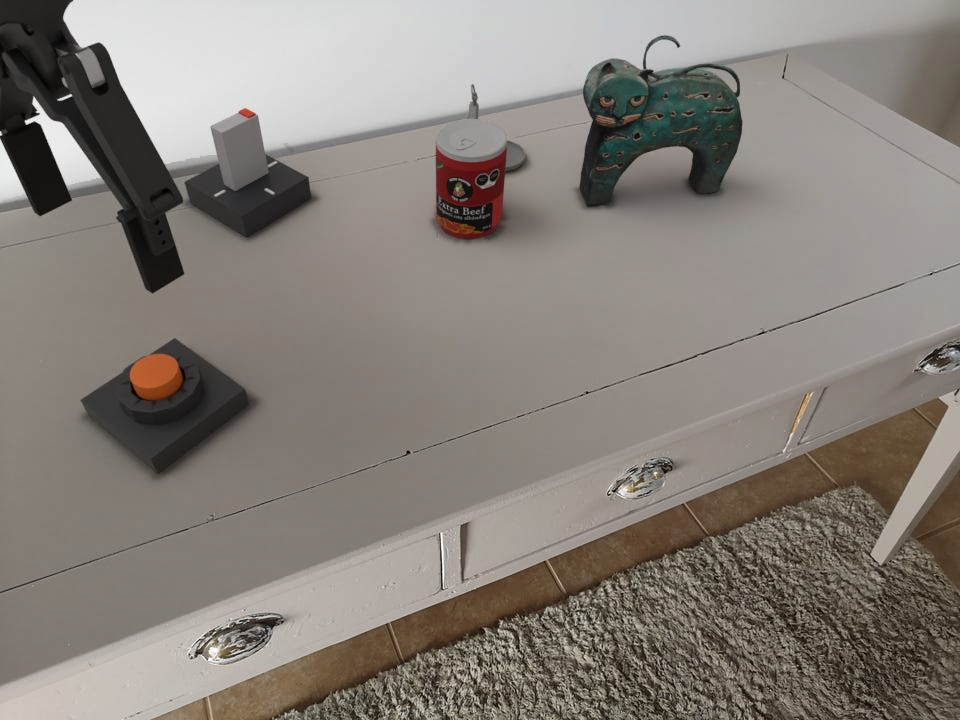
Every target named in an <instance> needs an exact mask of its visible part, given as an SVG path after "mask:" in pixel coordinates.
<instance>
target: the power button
mask: <svg viewBox="0 0 960 720" xmlns="http://www.w3.org/2000/svg"><path fill="white" fill-rule="evenodd" d="M148 355H149V356H148ZM148 355H145V356H146V357H144V356H143V357H144V358H142V357H141V358H142V359H140V358H139V359H140V360H139V359H138V360H139V361H137V360H136V361H137V362H136V363H135V364H134V365H133V367H132V369H131V371H130V380H131V382H132V384H133V387H134V389H135V391H136V393H137V395H138V396H140V397H141V398H143V399H145V400H149V401H158V400H161V399H165V398H168V397H170V396H172V395H173V394H175V393H176V392H177V391H178V390H179V389H180V387H181V385H182V382H183V376H182V374H181V371H180V368H179V365H178V363H177V361H176V360H175V359H174V358H173V357H171V356H169V355H166V354H153V355H150V354H148Z"/></svg>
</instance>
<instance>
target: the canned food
mask: <svg viewBox="0 0 960 720" xmlns="http://www.w3.org/2000/svg"><path fill="white" fill-rule="evenodd" d="M507 140H508V137H507V133H506V131H505V130H504V129H503V128H502V126H500V125H498V124H496V123H494V122H493V121H489V120H486V119H481V118H478V119H468V118H463V119H457V120H453V121H451V122H448V123H446V124H445V125H443V126H442V127H441V128H439V130H438V131H437V133H436V138H435V216H436V220H437V222H438V225H439V226H440V228H441V229H442V231H444V232H445V233H447V234H448V235H450V236H453V237H456V238H459V239H478V238H482V237H485V236H487V235H489V234H491V233H492V232H494V231H495V230H496V229H497V228H498V226H499V224H500V222H501V220H502V216H503V207H504V206H503V204H504V192H505V180H506V171H505V169H506V156H507Z"/></svg>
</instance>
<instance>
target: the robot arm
mask: <svg viewBox="0 0 960 720" xmlns="http://www.w3.org/2000/svg"><path fill="white" fill-rule="evenodd" d="M73 2H74V0H0V134H1V135H0V142H1V144H2V146H3V148H4V150H5V153H6V155H7V156H8V159H9V161H10V163H11V165H12V167H13V169H14V172H15V174H16V176H17V179H18V180H19V182H20V184H21V187H22V189H23V191H24V193H25V195H26V197H27V199H28V202H29V204H30V206H31V208H32V211H33V213H34V214H36V215H37V216H39V217H42V216H44V215H46V214H48V213H50V212H52V211H54V210H56V209H59V208H60V207H62V206H64V205H66V204H68V203H71V202H72V201H73V199H72V195H71V194H70V191H69V189H68V187H67V184H66V182H65V179H64V177H63V175H62V172H61V170H60V168H59V165H58V162H57V160H56V158H55V156H54V154H53V151H52V148H51V145H50V143H49V140H48V139H47V136H46V134H45V132H44V129H43V127H42V125H41V124H40V122H39V123H38V122H37V121H35V120H34V121H32V122H29V123H26V121H28V120H31V119H33V118H36V117H38V116H40V115H41V113H40V112H38V108H36V107H35V105H34V104H33V103H34V99H35V100H36V102H37V103H38V104H39V106H40V108H41V109H42V110H43V112H44V113H45V114H46V116H47V117H48V118H49V119H50V120H51V121H53V122H59V123H61V124H62V125H64V127H65V128H66V130H67V131H68V133H69V135H70V136H71V137H72V138H73V141H75V143H76V144H77V145H78V147H79V148H80V149H81V151H82V153H83V154H84V156H85V157H86V158H87V159H88V161H89V162H90V164H91V166H93V168H94V170H95V171H96V172H97V174H98V175H99V177H100V178H101V180H102V181H103V182H104V183H105V185H106V187H107V188H108V189H109V190H110V193H112V196H114V197H115V199H116V201H117V202H118V203H119V205H120V206H121V208H122V209H119V210H118V211H116V214H117V216H116V217H115V219H116V220H117V222H119V224H121V227H122V229H123V232H124V235H125V238H126V241H127V243H128V246H129V249H130V251H131V254H132V257H133V259H134V261H135V265H136V267H137V270H138V273H139V275H140V278H141V280H142V283H143V286H144V289H145V290H146V291H148V292H149V293H151V294H155V293H156V292H158V291H159V290H162V288H165V287H166V286H168V285H169V284H171V283H172V282H174V281H176V280H178V279H179V278H181V277H183V276H184V275H186V273H185V270H184V267H183V264H182V261H181V258H180V255H179V251H178V249H177V245H176V243H175V242H176V241H175V239H174V236H173V233H172V230H171V227H170V223H169V220H168V217H167V214H166V213H168V212H169V211H171V210H172V209H175V208H176V207H178V206H180V205H182V204H184V198H183V196H182V193H181V191H180V189H179V188H178V186H177V184H176V183H175V181H174V179H173V177H172V175H171V173H170V171H169V170H168V168H167V166H166V164H165V162H164V160H163V158H162V157H161V155H160V153H159V151H158V149H157V147H156V146H155V144H154V142H153V141H152V139H151V137H150V135H149V133H148V132H147V129H146V128H145V126H144V124H143V122H142V120H141V119H140V117H139V115H138V113H137V111H136V110H135V108H134V106H133V104H132V102H131V100H130V99H129V97H128V95H127V93H126V91H125V89H124V87H123V86H122V83H121V81H120V79H119V77H118V73H117V71H116V68H115V65H114V63H113V61H112V58H111V55H110V53H109V51H108V50H107V48H106V46H104V44H103V43H101V42H95V43H92V44H89V45H87V46H85V47H82V46H81V45H79V43H78V42H77V40H76V38H75V37H74V36H73V34H72V33H71V30H70V29H69V27H68V25H67V23H66V22H65V20H64V17H65V13H66V11H67V8H68V7H69V5H70V4H71V3H73ZM70 95H71V96H70ZM68 96H69V97H68ZM65 97H66V98H65ZM63 98H64V99H63ZM61 99H62V100H61Z"/></svg>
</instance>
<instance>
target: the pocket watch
mask: <svg viewBox="0 0 960 720" xmlns="http://www.w3.org/2000/svg"><path fill="white" fill-rule="evenodd" d="M470 93H471V101H470V102H469V104H468V116H467V117H468V118H467V119H479V108H480V107H479V103H478V99H479V96H478V93H477V92H476V88H475V85H474V84H473V83H471V85H470ZM525 158H526V151H525V150H524V148H523V147H522V146H521V144H518V143H516V142H515V141H511V140H508V139H507V156H506V169H505V172H507V171H513V170H515V169H518V168H519V167H520V166H522V164H524V162H525Z"/></svg>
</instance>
